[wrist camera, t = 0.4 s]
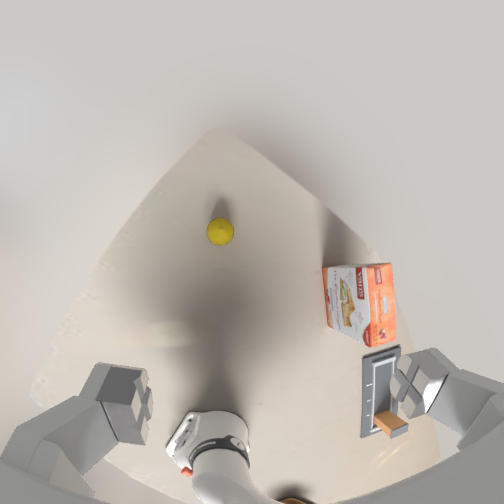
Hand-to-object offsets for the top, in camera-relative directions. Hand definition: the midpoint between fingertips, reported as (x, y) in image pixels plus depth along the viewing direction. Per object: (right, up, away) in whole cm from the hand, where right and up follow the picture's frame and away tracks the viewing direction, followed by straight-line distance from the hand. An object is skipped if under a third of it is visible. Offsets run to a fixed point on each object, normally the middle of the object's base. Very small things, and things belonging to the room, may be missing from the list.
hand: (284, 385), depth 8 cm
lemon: (-8, +8, +53) cm, 54 cm away
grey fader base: (+34, -35, +55) cm, 74 cm away
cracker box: (+18, -6, +55) cm, 59 cm away
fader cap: (+35, -42, +55) cm, 77 cm away
